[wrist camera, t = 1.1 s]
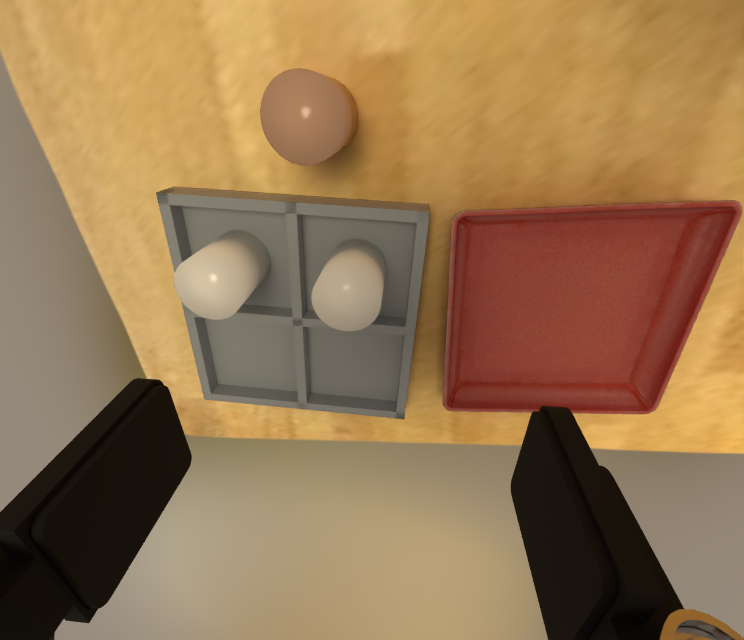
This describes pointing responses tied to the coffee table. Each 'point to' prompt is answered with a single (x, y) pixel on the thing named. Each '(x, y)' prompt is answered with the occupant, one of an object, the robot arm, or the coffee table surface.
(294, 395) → the gray divided tray
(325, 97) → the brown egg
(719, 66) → the coffee table surface
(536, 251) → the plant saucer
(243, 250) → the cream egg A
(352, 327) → the cream rounded cylinder
